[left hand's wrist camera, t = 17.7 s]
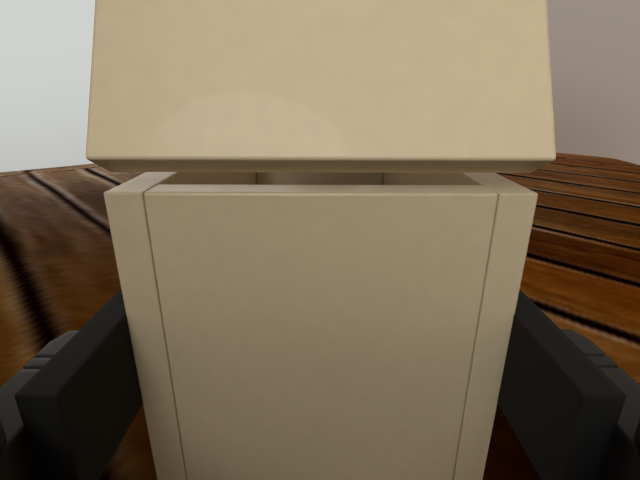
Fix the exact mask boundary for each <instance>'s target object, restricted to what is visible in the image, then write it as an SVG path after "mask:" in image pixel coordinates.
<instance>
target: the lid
mask: <svg viewBox="0 0 640 480" xmlns="http://www.w3.org/2000/svg"><path fill="white" fill-rule="evenodd" d="M86 157H87V159H88V160H90V161H91V162H93V163H95V164H97V165H99V166H101V167H103V168H105V169H107V170H109V171H111V172H385V173H531V172H533V171H535V170H537V169H539V168H541V167H543V166H545V165H547V164H549V163H551V162H552V161H554V160H555V158H556V148H555V132H554V115H553V98H552V81H551V64H550V47H549V30H548V13H547V0H96V2H95V18H94V35H93V50H92V66H91V82H90V98H89V114H88V131H87V147H86Z"/></svg>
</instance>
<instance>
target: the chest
mask: <svg viewBox="0 0 640 480" xmlns="http://www.w3.org/2000/svg"><path fill="white" fill-rule="evenodd" d="M537 197H538V194H537V193H535V192H533V191H531V190H529V189H527V188H525V187H523V186H521V185H519V184H517V183H514V182H512V181H510V180H508V179H506V178H504V177H502V176H500V175H498V174H496V173H385V172H146V173H144V174H142V175H140V176H137V177H135V178H133V179H131V180H129V181H127V182H125V183H123V184H121V185H119V186H117V187H115V188H112V189H110V190H108V191H106V192H104V199H105V204H106V209H107V215H108V220H109V225H110V230H111V236H112V241H113V246H114V252H115V257H116V262H117V268H118V273H119V278H120V284H121V289H122V294H123V300H124V305H125V310H126V316H127V321H128V326H129V331H130V337H131V342H132V347H133V353H134V358H135V363H136V368H137V374H138V379H139V384H140V389H141V395H142V400H143V406H144V411H145V417H146V422H147V427H148V433H149V438H150V443H151V449H152V454H153V459H154V465H155V470H156V475H157V480H482V479H483V474H484V469H485V464H486V459H487V454H488V449H489V443H490V438H491V433H492V428H493V423H494V418H495V413H496V408H497V401H498V396H499V391H500V385H501V380H502V375H503V370H504V365H505V359H506V354H507V349H508V344H509V338H510V333H511V328H512V323H513V318H514V314H515V310H516V305H517V300H518V294H519V289H520V284H521V279H522V274H523V269H524V264H525V258H526V253H527V248H528V243H529V238H530V233H531V228H532V222H533V217H534V212H535V207H536V202H537Z"/></svg>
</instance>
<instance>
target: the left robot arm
mask: <svg viewBox="0 0 640 480" xmlns="http://www.w3.org/2000/svg"><path fill="white" fill-rule="evenodd" d="M23 367H24V368H23V369H20V370H19V371H18V372H17V373H16V374H15V375H14V376H13V377H11V378H10V379H9V380H8V381H7V382H6V383H5V384H4V385H3V386H2V387H1V388H0V480H99V479H100V477H101V476H102V474H103V472H104V470H105V469H106V467H107V465H108V463H109V462H110V460H111V458H112V456H113V454H114V453H115V451H116V449H117V447H118V446H119V444H120V442H121V440H122V439H123V437H124V435H125V433H126V432H127V430H128V428H129V426H130V425H131V423H132V421H133V419H134V418H135V416H136V414H137V412H138V410H139V409H140V407H141V405H142V403H143V400H142V395H141V389H140V384H139V379H138V374H137V368H136V363H135V358H134V353H133V347H132V342H131V337H130V331H129V326H128V321H127V316H126V310H125V305H124V300H123V294H122V289H120V290H119V291H118V292H117V293H116V294H115V295H114V296H113V297H112V298H111V299H110V300H109V301H108V302H107V303H106V304H105V305H104V306H103V307H102V308H101V309H100V310H99V311H98V312H97V313H96V314H95V315H94V316H93V317H92V318H91V319H90V320H89V321H88V322H87V323H86V324H85V325H84V326H83V327H82V328H81V329H80V330H79V331H68V332H67V333H65V334H63V335H61V336H59V337H58V338H56V339H54V340H52V341H51V342H49V343H48V344H47V345H46V346H45V347H44V348H43V349H42V350H41V351H40V352H38V353H37V354H36V355H35V358H32V359H31V360H30V361H29V362H28V363H27V364H26V365H24V366H23ZM497 403H498V404H499V406H500V408H501V410H502V411H503V413H504V415H505V417H506V419H507V420H508V422H509V424H510V426H511V427H512V429H513V431H514V433H515V434H516V436H517V438H518V440H519V441H520V443H521V445H522V447H523V448H524V450H525V452H526V454H527V455H528V457H529V459H530V461H531V463H532V464H533V466H534V468H535V470H536V471H537V473H538V475H539V477H540V478H541V480H640V385H639V384H638V383H637V382H635V381H634V380H633V379H632V378H631V377H630V376H629V375H628V374H627V373H626V372H625V371H624V370H622V369H621V368H618V365H617V364H616V363H615V362H614V361H613V360H612V359H611V358H609V357H606V354H605V353H604V352H603V351H602V350H601V349H600V348H599V347H597V346H596V345H595V344H594V343H593V342H592V341H591V340H589V339H587V338H585V337H584V336H582V335H580V334H578V333H577V332H575V331H573V330H565V329H559V328H558V327H557V326H556V325H555V324H554V323H553V322H552V321H551V320H550V319H549V318H548V317H547V316H546V315H545V314H544V313H543V312H542V311H541V310H540V309H539V308H538V307H537V306H536V305H535V304H534V303H533V302H532V301H531V300H530V299H529V298H528V297H527V296H526V295H525V294H524V293H523V292H522V291H521V290H520V289H519V294H518V300H517V305H516V310H515V314H514V318H513V323H512V328H511V333H510V338H509V344H508V349H507V354H506V359H505V365H504V370H503V375H502V380H501V385H500V391H499V396H498V401H497Z"/></svg>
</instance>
